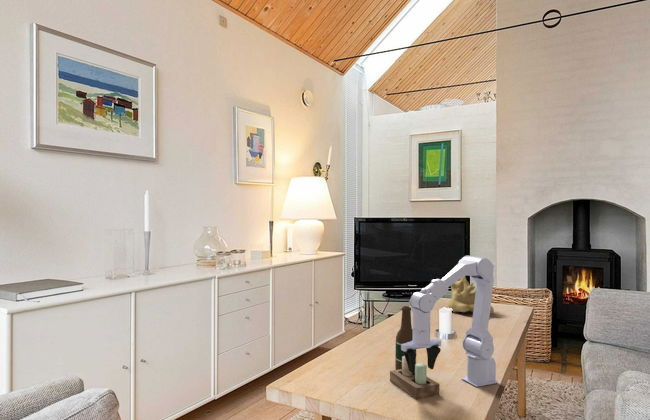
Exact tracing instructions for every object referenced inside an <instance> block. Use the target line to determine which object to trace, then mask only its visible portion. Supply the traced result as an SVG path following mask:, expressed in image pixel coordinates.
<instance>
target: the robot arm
mask: <svg viewBox="0 0 650 420" xmlns="http://www.w3.org/2000/svg"><path fill="white" fill-rule="evenodd" d="M494 269H495V265H494V264H493V262H492V261H491V260H490V259H489V258H487V257H478V256H472V255H470V254H469V255H464V256H463V257H461V259H459V261H458V262H457V264H456V265H455V266H454V267H453V268H452V269H451V270H450V271H449V272H447V274H445V276H443V277H442V278H441V279H440V278H436V279H431V281H430V283H429V284H428V285H426V286H425V287H423V288H421V290H420V291H416V292H413V294H412V295H411V296H410V299H409V300H408V303H409V307H411V313H412V329H413V341H410V342H407V343H404V344H401V350H402V352H403V354H404V356H405V358H406V361H407V364H408V369H409V371H410V372H412V373H414V369H415V358H416V359H417V352H416V353H414V351H413V350H414V349H416V350H419V349H426V356H427V368H429V369H430V370H434V367H435V364H436V361H437V359H438V357H439V355H440V353H441V348H440V347H442V340H440V339H438V338H435V339H434V338H433V339H431V311H433V309H434V308H435V304H436V303H437V302H438V301H439V300H440V299H441V298H443V297H444V296H445V295H446V294H447V293H448V292H449V287H451V285H452V284H454V283H455V282H457V281H460V279H461V278H462V277H464V276H465V277H466V276H469V277H471V279H472V280H474V282H475V283H476V286H475V289H476V295H475V303H474V311H473V312H472V320H471V326H470V328H468V329H467V330H465V336H464V337H463V340H462V348H463V350H464V351H465V354H466V376H462V377H461V380H463V381H465V382H467V383H469V384H470V385H472V386H474V387H476V388H477V387H478V388H479V387H483V386H488V385H494V384H498V381H497V380H496V379H497V377H496V375H497V374H496V372H497V370H496V369H497V365H496V361H495V358H494V357H493V354H494V352H495V347H494V337H493V335H492V334H491V333H490V332H489V331H490V330H489V323H490V315H491V312H490V308H491V306H492V298H493V297H492V296H493V292H494V291H493V289H494V284H495V282H494V281H495V280H494Z"/></svg>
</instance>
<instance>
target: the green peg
mask: <svg viewBox="0 0 650 420" xmlns="http://www.w3.org/2000/svg"><path fill="white" fill-rule="evenodd" d="M427 368H428V364H425V363H421V362H420V363H416V365H415V383H416V384H417V385H425V384H426V376H427V373H428V372H427Z"/></svg>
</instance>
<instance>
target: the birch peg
mask: <svg viewBox="0 0 650 420" xmlns="http://www.w3.org/2000/svg"><path fill="white" fill-rule="evenodd" d="M402 375H403V376H405V377H406V376H412V372H410V371H409V369H408V364H407V361H406V358H405V356H403V357H402Z"/></svg>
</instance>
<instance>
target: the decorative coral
mask: <svg viewBox="0 0 650 420" xmlns="http://www.w3.org/2000/svg"><path fill="white" fill-rule="evenodd" d="M450 287H451V298H450V300H449V301H448V303H447V308H448V307H449V308H452V309H453V312H452V313H460V312H461V313H467V312H471V313H473V311H474V303H475V295H476V286H474V283H472V282H471V283H469V281H468V280H467V277H466V276H464V277H462V278H461V279H460V280H458V281H457V282H455V283H454V284H452V285H451V286H450ZM494 311H495V310H494V307H493V306H492V305H491V308H490V313H494Z"/></svg>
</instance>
